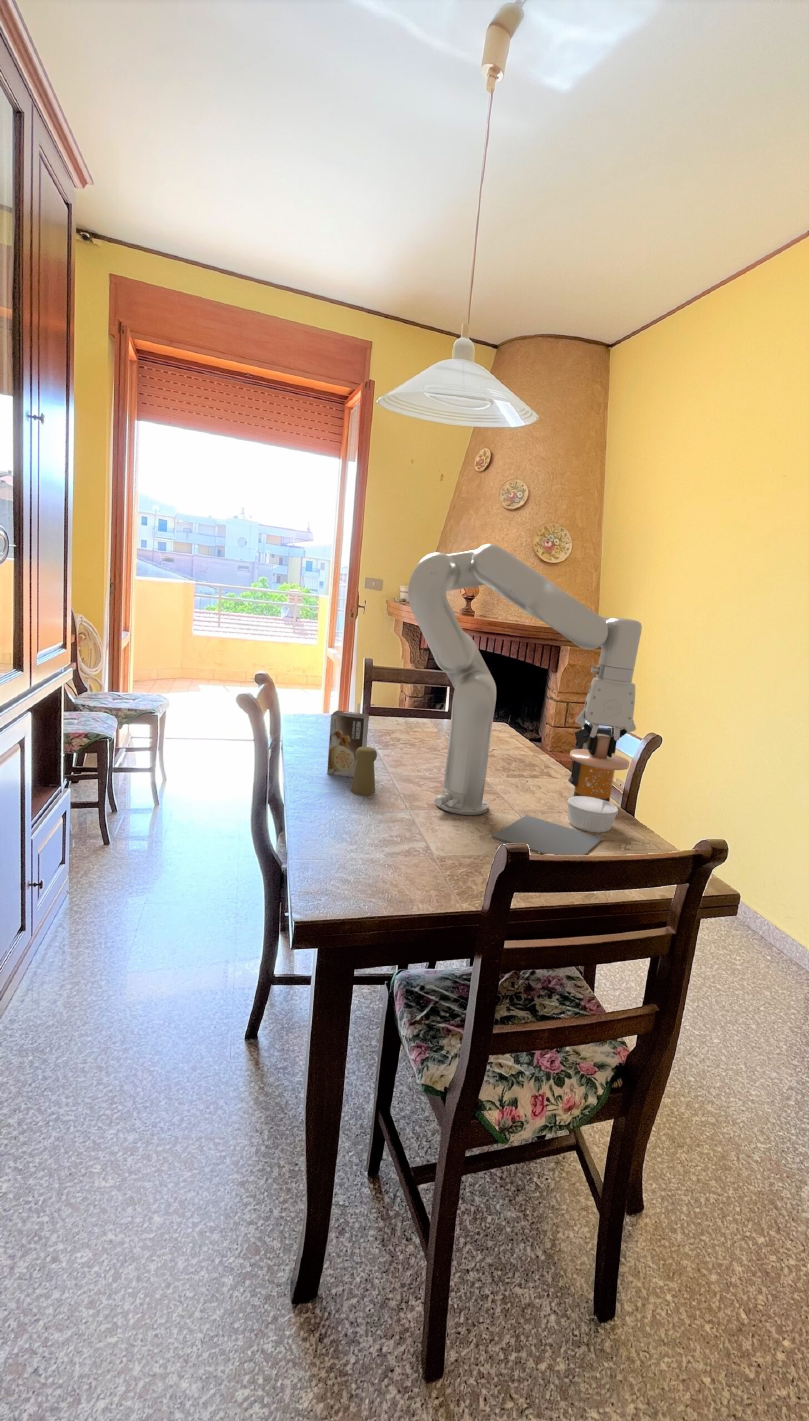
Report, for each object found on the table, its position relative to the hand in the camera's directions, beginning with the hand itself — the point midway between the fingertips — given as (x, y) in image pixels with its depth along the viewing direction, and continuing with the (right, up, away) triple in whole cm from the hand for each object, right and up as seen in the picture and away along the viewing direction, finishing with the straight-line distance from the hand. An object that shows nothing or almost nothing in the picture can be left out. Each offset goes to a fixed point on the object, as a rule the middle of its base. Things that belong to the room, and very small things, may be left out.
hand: (599, 753), depth 142 cm
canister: (+3, -14, +21) cm, 25 cm away
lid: (0, -2, 0) cm, 2 cm away
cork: (-54, -10, +11) cm, 56 cm away
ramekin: (-1, -17, +3) cm, 17 cm away
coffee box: (-60, -7, +24) cm, 65 cm away
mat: (-14, -18, -8) cm, 24 cm away
